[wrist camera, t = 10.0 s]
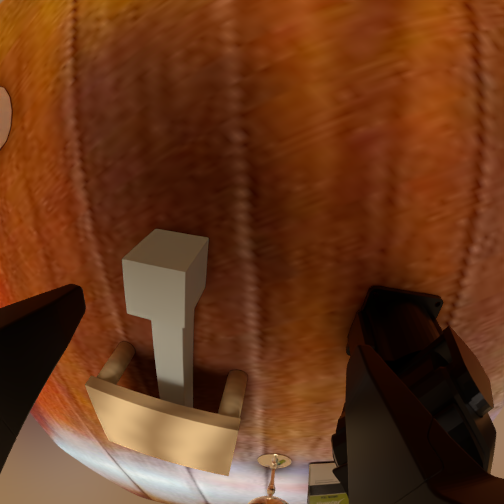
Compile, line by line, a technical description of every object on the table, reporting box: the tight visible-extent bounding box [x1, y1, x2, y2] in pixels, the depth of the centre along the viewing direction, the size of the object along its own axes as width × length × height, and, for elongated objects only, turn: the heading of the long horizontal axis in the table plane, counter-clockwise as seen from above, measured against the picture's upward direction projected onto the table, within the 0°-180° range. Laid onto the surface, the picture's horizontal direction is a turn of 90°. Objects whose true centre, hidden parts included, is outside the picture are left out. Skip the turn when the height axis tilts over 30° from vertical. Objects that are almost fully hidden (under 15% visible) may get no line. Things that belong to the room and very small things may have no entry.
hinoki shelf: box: [85, 341, 248, 476], centre depth 26 cm, size 13×10×6 cm
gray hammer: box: [122, 229, 209, 408], centre depth 23 cm, size 4×20×5 cm, turn 172°
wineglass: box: [248, 454, 292, 504], centre depth 28 cm, size 6×6×12 cm
